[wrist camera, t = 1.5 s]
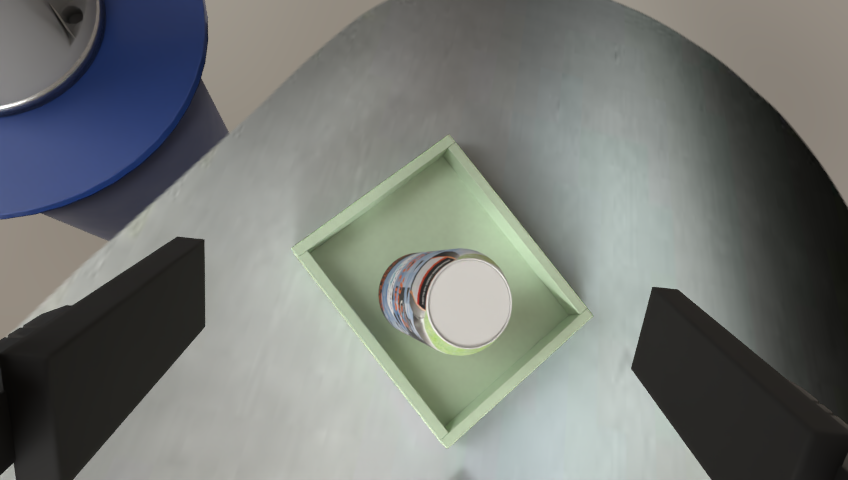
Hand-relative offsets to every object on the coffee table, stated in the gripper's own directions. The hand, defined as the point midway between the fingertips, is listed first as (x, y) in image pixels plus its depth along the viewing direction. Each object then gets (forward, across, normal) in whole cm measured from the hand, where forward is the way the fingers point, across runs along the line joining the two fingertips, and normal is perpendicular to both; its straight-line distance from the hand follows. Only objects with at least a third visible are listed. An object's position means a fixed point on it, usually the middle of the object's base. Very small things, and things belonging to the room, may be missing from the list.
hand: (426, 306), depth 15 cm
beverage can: (+22, +1, -10) cm, 24 cm away
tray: (+23, +2, -9) cm, 25 cm away
